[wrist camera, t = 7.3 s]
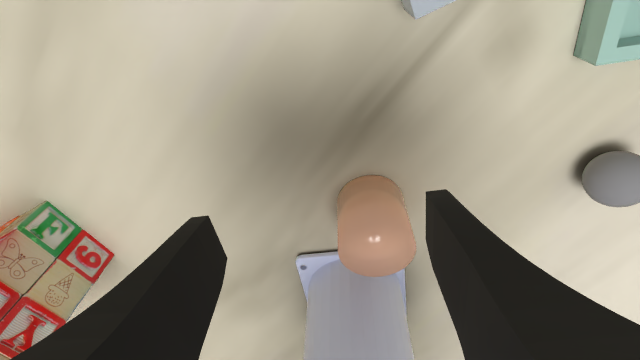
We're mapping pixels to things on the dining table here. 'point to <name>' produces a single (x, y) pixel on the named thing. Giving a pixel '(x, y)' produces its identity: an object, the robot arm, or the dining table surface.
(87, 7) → the dining table surface
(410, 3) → the slate block
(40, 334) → the stack of blocks
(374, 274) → the peach rounded cylinder
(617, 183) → the grey ball
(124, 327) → the robot arm
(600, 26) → the teal tray
